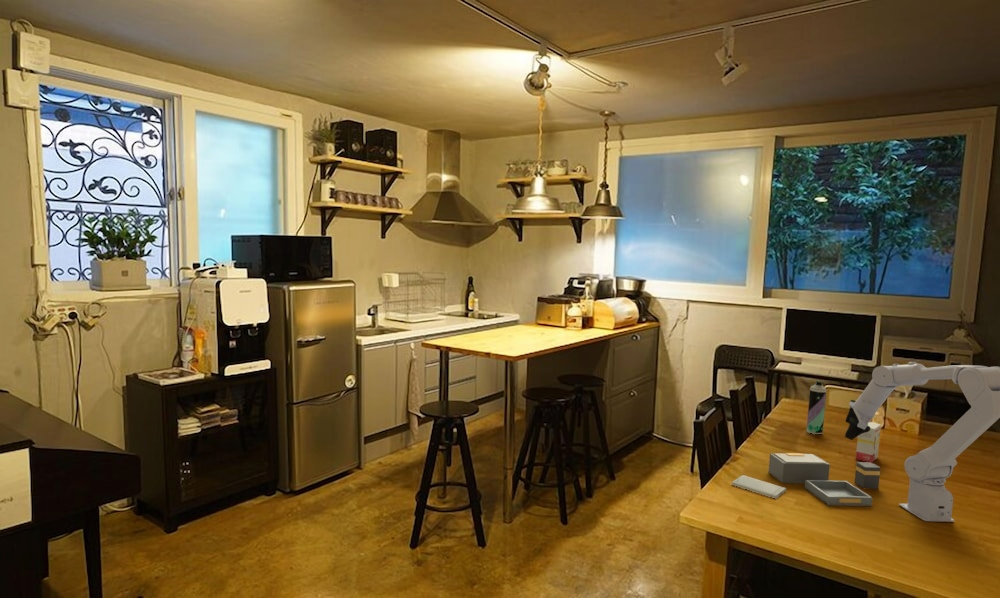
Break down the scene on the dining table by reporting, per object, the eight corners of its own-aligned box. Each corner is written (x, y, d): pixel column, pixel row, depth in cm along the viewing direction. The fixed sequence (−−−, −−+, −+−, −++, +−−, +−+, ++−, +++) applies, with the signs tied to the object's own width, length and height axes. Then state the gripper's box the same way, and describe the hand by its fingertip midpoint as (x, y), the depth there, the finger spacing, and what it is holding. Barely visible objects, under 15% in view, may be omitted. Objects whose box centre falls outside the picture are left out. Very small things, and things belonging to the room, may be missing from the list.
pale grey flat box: (828, 483, 171) (829, 462, 170) (782, 482, 170) (783, 461, 170) (812, 472, 179) (813, 452, 178) (768, 472, 178) (769, 451, 178)
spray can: (803, 430, 222) (807, 380, 220) (814, 429, 224) (818, 379, 222) (814, 435, 217) (819, 383, 215) (826, 434, 219) (830, 382, 217)
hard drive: (731, 481, 167) (776, 495, 159) (743, 474, 173) (786, 487, 164) (731, 487, 167) (775, 501, 159) (742, 479, 173) (786, 492, 165)
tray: (871, 506, 156) (872, 497, 156) (828, 505, 156) (828, 496, 156) (845, 488, 168) (846, 480, 167) (804, 488, 167) (805, 480, 167)
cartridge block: (878, 489, 168) (880, 467, 168) (863, 488, 168) (865, 467, 168) (869, 483, 172) (871, 462, 172) (854, 483, 172) (856, 462, 172)
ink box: (871, 463, 189) (875, 428, 188) (854, 459, 193) (857, 425, 191) (878, 457, 195) (881, 423, 194) (861, 453, 198) (865, 420, 197)
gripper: (857, 379, 175) (835, 410, 183) (857, 406, 164) (834, 438, 172) (882, 389, 173) (859, 420, 181) (883, 418, 162) (859, 449, 170)
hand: (848, 430), depth 176 cm, fingers open, 7 cm apart
